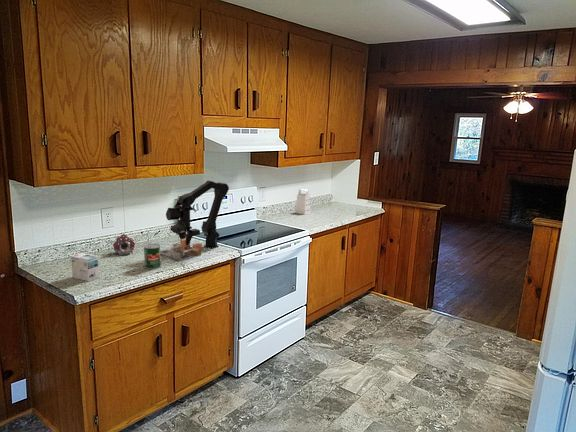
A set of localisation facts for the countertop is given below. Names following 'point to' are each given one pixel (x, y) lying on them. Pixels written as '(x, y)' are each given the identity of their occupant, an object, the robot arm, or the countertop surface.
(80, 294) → the countertop surface
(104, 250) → the countertop surface
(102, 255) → the countertop surface
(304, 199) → the grater
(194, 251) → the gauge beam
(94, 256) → the light bulb box
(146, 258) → the canned tomato
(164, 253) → the flange plate
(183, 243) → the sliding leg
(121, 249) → the maroon piece
